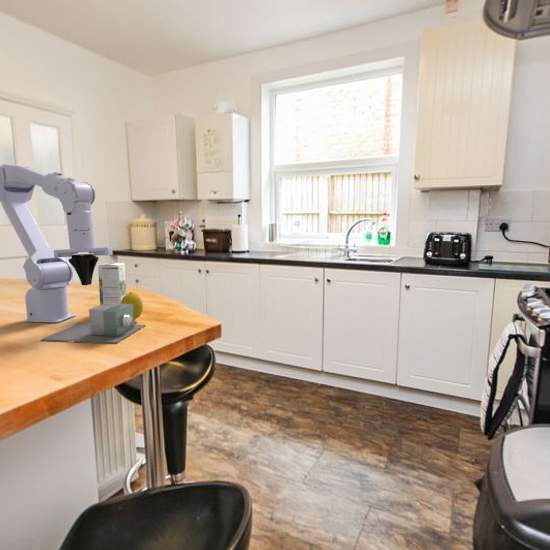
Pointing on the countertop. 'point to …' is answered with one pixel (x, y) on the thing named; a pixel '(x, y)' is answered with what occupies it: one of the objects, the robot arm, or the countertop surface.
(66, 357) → the countertop surface
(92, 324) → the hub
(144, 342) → the countertop surface
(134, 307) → the lemon
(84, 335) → the mat
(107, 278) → the syrup box
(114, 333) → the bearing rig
